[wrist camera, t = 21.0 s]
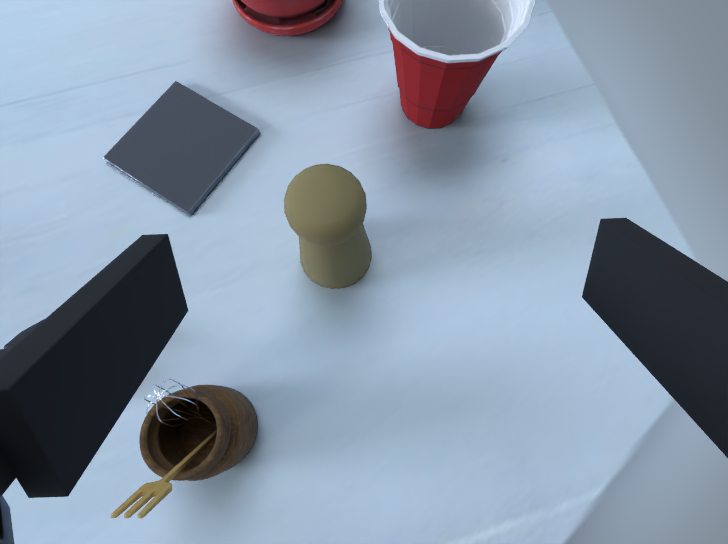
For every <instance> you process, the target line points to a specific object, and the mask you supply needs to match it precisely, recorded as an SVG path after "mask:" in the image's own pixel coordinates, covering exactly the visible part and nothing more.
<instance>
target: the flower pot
mask: <svg viewBox="0 0 728 544" xmlns="http://www.w3.org/2000/svg"><path fill="white" fill-rule="evenodd" d="M342 1H343V0H233V3H234V5H235V7H236V9H237V11H238V12H239V14H240V15H241V16H242V17H243V18H244V19H245V20H246V21H247V22H248V23H249V24H251V25H252V26H254V27H256V28H257V29H259V30H261V31H264V32H266V33H270V34H274V35H282V36H293V35H299V34H304V33H307V32H310V31H312V30H314V29H317V28H318V27H320V26H322V25H323V24H325V23H326V22H327V21H328V20H330V19H331V18H332V17H333V15H334V14H335V13H336V12H337V10H338V9H339V7H340V5H341V4H342Z"/></svg>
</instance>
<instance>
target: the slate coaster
mask: <svg viewBox="0 0 728 544" xmlns="http://www.w3.org/2000/svg"><path fill="white" fill-rule="evenodd" d="M259 134H260V131H259V129H257V128H256V127H254V126H252V125H250V124H249V123H247V122H245V121H244V120H242V119H240V118H238V117H237V116H235V115H233V114H231V113H230V112H228V111H226V110H225V109H223V108H221V107H219V106H218V105H216V104H214V103H213V102H211V101H209V100H207V99H206V98H204V97H202V96H201V95H199V94H197V93H195V92H194V91H192V90H190V89H188V88H187V87H185V86H183V85H182V84H180V83H178V82H176V81H175V82H174V83H173V84H172V85H171V87H170V88H169V89H168V90H167V91H166V92H165V93H164V94H163V95H162V96H161V97H160V98H159V99H158V100H157V101H156V102H155V103H154V104H153V105H152V107H151V108H150V109H149V110H148V111H147V112H146V113H145V114H144V115H143V116H142V117H141V118H140V119H139V120H138V121H137V122H136V123H135V124H134V125H133V127H132V128H131V129H130V130H129V131H128V132H127V133H126V134H125V135H124V136H123V137H122V138H121V139H120V140H119V141H118V142H117V143H116V144H115V145H114V147H113V148H112V149H111V150H110V151H109V152H108V153H107V154H106V155H105V156H104V157H103V158H104V159H105V160H106V161H107V162H108V163H110V164H112V165H113V166H115V167H116V168H118V169H119V170H121V171H122V172H124V173H126V174H127V175H129V176H130V177H132V178H133V179H135V180H136V181H138V182H139V183H141V184H143V185H144V186H146V187H147V188H149V189H150V190H152V191H153V192H155V193H156V194H158V195H160V196H161V197H163V198H164V199H166V200H167V201H169V202H170V203H172V204H174V205H175V206H177V207H178V208H180V209H181V210H183V211H184V212H186V213H187V214H189V215H192V214H193V212H194V211H195V210H196V209H197V208H198V207H199V205H200V204H201V203H202V202H203V201H204V199H205V198H206V197H207V196H208V195H209V193H210V192H211V191H212V190H213V189H214V187H215V186H216V185H217V184H218V183H219V182H220V180H221V179H222V178H223V177H224V176H225V174H226V173H227V172H228V171H229V170H230V168H231V167H232V166H233V165H234V164H235V163H236V161H237V160H238V159H239V158H240V157H241V155H242V154H243V153H244V152H245V151H246V149H247V148H248V147H249V146H250V145H251V144H252V142H253V141H254V140H255V139H256V138H257V136H258V135H259Z"/></svg>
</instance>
